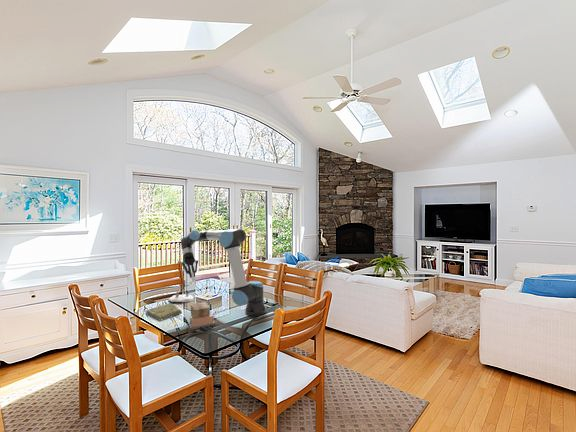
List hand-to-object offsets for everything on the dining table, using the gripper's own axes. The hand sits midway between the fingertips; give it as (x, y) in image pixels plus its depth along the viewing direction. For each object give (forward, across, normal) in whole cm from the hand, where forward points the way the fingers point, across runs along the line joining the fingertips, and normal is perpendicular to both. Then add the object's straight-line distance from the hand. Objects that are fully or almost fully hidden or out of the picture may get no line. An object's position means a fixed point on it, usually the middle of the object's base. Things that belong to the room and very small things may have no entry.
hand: (193, 280), depth 229 cm
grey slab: (+29, 0, -6) cm, 30 cm away
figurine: (-6, +3, -41) cm, 42 cm away
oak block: (+30, 0, -2) cm, 30 cm away
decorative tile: (+10, +19, -25) cm, 33 cm away
